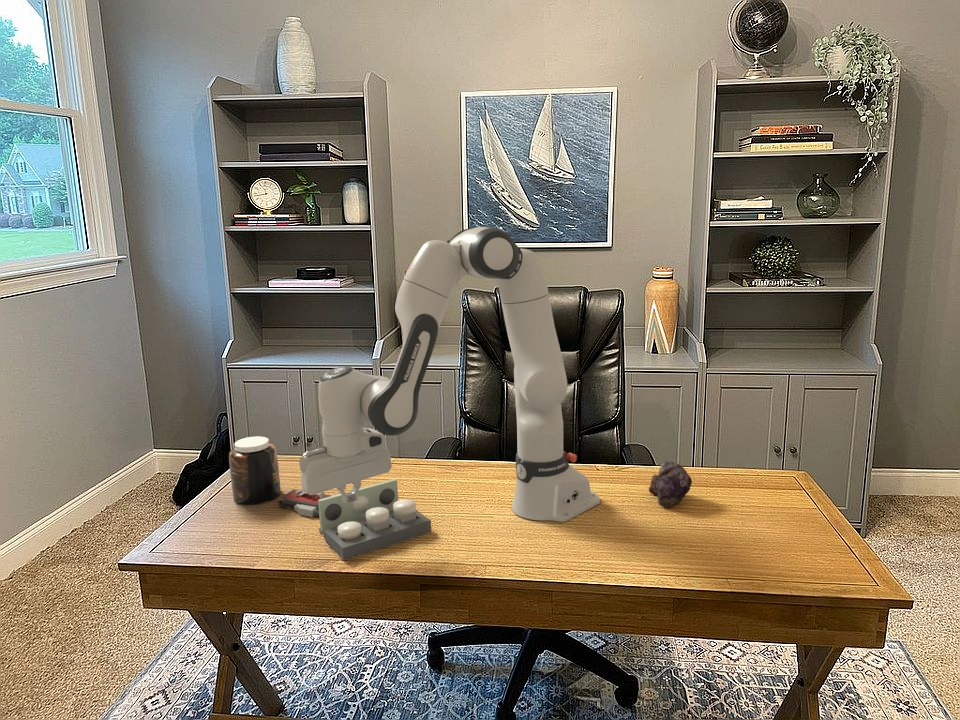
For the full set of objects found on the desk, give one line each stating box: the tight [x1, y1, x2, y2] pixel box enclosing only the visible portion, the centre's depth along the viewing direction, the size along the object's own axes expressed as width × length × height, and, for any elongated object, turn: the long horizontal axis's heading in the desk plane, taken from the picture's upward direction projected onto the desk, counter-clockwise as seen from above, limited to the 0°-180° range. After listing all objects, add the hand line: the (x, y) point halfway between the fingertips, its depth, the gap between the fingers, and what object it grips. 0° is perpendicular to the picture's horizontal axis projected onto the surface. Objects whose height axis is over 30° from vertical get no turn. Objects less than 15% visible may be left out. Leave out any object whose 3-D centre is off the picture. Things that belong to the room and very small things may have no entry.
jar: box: [228, 435, 282, 506], centre depth 196 cm, size 12×12×15 cm
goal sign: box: [318, 478, 399, 537], centre depth 180 cm, size 20×3×8 cm, turn 124°
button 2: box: [393, 499, 417, 524], centre depth 176 cm, size 5×5×4 cm
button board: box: [324, 509, 432, 561], centre depth 173 cm, size 22×10×3 cm, turn 124°
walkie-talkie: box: [277, 488, 332, 518], centre depth 189 cm, size 9×4×20 cm
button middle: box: [366, 507, 389, 533], centre depth 172 cm, size 5×5×4 cm
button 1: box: [338, 522, 362, 542], centre depth 169 cm, size 5×5×4 cm
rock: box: [648, 460, 693, 509], centre depth 188 cm, size 12×9×10 cm
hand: (350, 500), depth 167 cm, fingers closed
